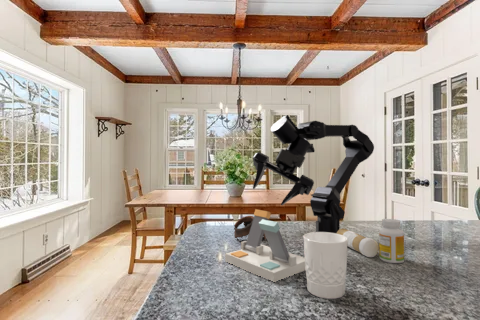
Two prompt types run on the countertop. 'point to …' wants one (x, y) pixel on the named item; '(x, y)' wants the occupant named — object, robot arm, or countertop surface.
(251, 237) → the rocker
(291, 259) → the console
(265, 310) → the countertop surface
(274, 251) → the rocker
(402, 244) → the supplement bottle
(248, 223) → the pottery mug
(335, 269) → the white cup
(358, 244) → the sprinkles bottle
